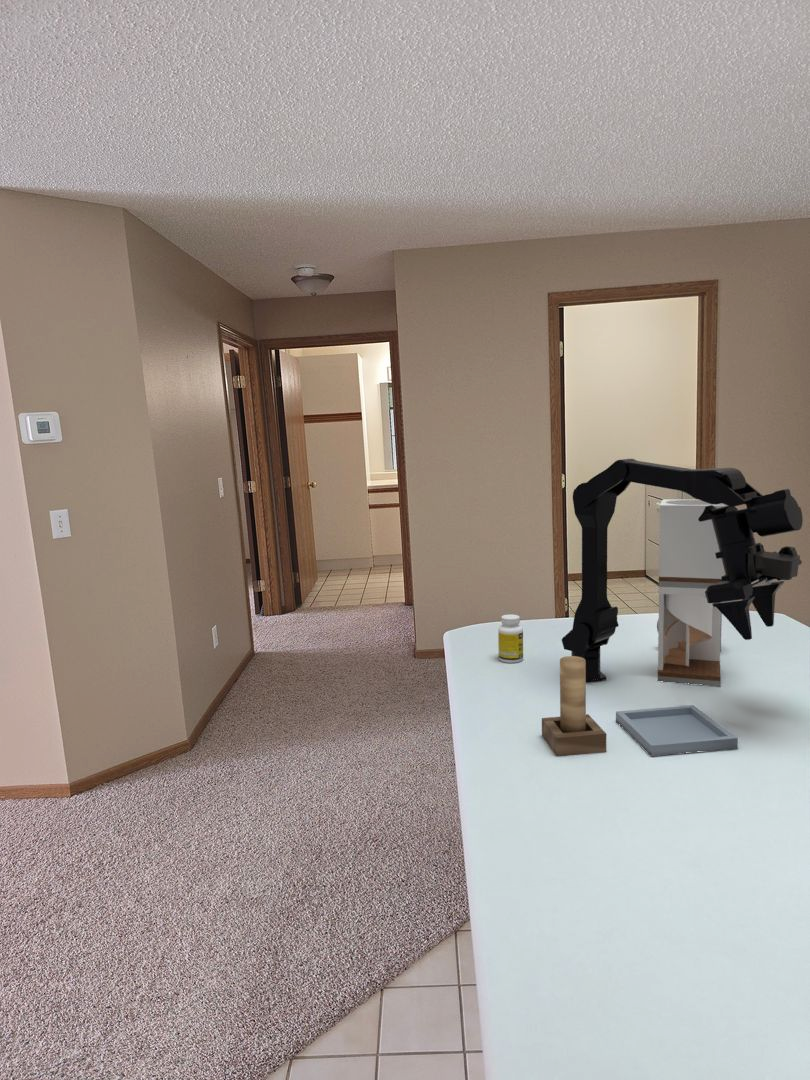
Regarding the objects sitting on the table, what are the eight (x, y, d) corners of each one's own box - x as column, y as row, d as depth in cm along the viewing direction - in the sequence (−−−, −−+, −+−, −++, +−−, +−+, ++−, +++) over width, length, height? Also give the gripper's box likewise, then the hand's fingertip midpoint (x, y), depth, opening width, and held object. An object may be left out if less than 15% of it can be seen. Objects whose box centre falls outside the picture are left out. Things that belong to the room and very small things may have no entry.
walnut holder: (541, 735, 122) (541, 718, 122) (588, 731, 123) (588, 714, 123) (556, 756, 115) (556, 737, 114) (606, 751, 115) (606, 733, 115)
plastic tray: (615, 721, 127) (615, 711, 127) (693, 714, 128) (693, 705, 128) (651, 756, 113) (651, 745, 113) (737, 748, 114) (737, 738, 114)
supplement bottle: (522, 663, 159) (522, 620, 158) (497, 663, 160) (496, 619, 159) (524, 656, 164) (523, 613, 163) (499, 655, 165) (498, 613, 164)
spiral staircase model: (657, 681, 145) (659, 505, 140) (660, 664, 155) (662, 499, 150) (720, 687, 141) (724, 505, 136) (719, 669, 151) (723, 499, 145)
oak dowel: (557, 739, 121) (556, 657, 119) (580, 737, 121) (580, 655, 119) (565, 749, 117) (564, 664, 115) (589, 747, 117) (589, 663, 115)
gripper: (763, 541, 111) (789, 642, 110) (806, 524, 123) (830, 615, 123) (693, 554, 119) (717, 648, 119) (740, 536, 132) (762, 621, 131)
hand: (759, 632), depth 123 cm, fingers open, 9 cm apart
